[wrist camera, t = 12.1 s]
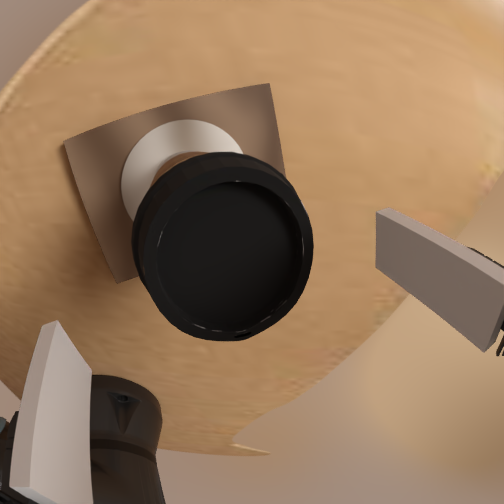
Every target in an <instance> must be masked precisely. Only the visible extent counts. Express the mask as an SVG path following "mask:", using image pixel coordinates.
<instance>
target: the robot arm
mask: <svg viewBox="0 0 504 504" xmlns="http://www.w3.org/2000/svg"><path fill="white" fill-rule="evenodd" d="M376 268H377V269H378V270H380V271H381V272H382V273H384V274H385V275H387V276H388V277H389V278H391V279H392V280H393V281H395V282H396V283H397V284H399V285H400V286H401V287H403V288H404V289H405V290H406V291H408V292H409V293H410V294H412V295H413V296H414V297H416V298H417V299H418V300H420V301H421V302H422V303H423V304H425V305H426V306H427V307H429V308H430V309H431V310H432V311H434V312H435V313H436V314H437V315H439V316H440V317H441V318H442V319H444V320H445V321H446V322H448V323H449V324H450V325H451V326H452V327H454V328H455V329H456V330H457V331H459V332H460V333H461V334H462V335H463V336H465V337H466V338H467V339H468V340H469V341H471V342H472V343H473V344H474V345H475V346H477V347H478V348H479V349H480V350H481V351H482V352H485V351H486V350H487V349H489V348H490V347H491V346H492V345H493V344H494V343H495V341H496V339H497V336H498V334H499V332H500V329H501V330H503V331H504V266H502V265H501V264H499V263H497V262H496V261H492V259H490V258H489V257H487V256H484V254H482V253H480V252H478V251H477V250H475V249H473V248H469V247H466V246H464V245H462V244H460V243H458V242H457V241H455V240H453V239H451V238H449V237H447V236H445V235H444V234H442V233H440V232H438V231H436V230H434V229H432V228H430V227H428V226H426V225H424V224H422V223H420V222H418V221H416V220H414V219H412V218H410V217H408V216H406V215H404V214H402V213H400V212H398V211H396V210H394V209H391V208H389V207H388V208H385V209H382V210H380V211H377V212H376ZM503 347H504V336H503V338H502V340H501V343H500V345H499V347H498V349H497V351H496V356H499V355H500V352H501V350H502V348H503ZM502 356H504V351H503V354H502ZM161 428H162V414H161V408H160V404H159V402H158V400H157V399H156V397H155V396H154V395H153V394H152V393H151V392H150V391H148V390H147V389H145V388H144V387H142V386H140V385H138V384H136V383H134V382H132V381H129V380H126V379H122V378H118V377H113V376H103V375H93V376H92V370H91V369H90V367H89V366H88V364H87V363H86V362H85V360H84V359H83V358H82V356H81V355H80V353H79V352H78V350H77V349H76V347H75V346H74V345H73V343H72V342H71V340H70V339H69V337H68V335H67V334H66V332H65V331H64V329H63V328H62V326H61V325H60V323H59V321H58V320H56V321H53V322H50V323H47V324H44V325H42V328H41V331H40V334H39V337H38V340H37V343H36V346H35V350H34V353H33V356H32V360H31V363H30V367H29V371H28V375H27V379H26V383H25V387H24V391H23V395H22V400H21V404H20V409H19V411H16V412H15V414H14V416H13V418H12V420H11V422H10V423H9V422H7V421H6V419H4V418H3V417H0V504H166V503H165V499H164V495H163V491H162V487H161V482H160V477H159V473H158V469H157V463H156V456H155V454H156V450H157V446H158V441H159V437H160V432H161Z"/></svg>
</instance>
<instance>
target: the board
mask: <svg viewBox="0 0 504 504" xmlns="http://www.w3.org/2000/svg"><path fill="white" fill-rule="evenodd" d="M63 142H64V145H65V149H66V152H67V155H68V159H69V162H70V165H71V168H72V171H73V174H74V178H75V181H76V184H77V186H78V189H79V192H80V195H81V198H82V201H83V203H84V206H85V209H86V212H87V214H88V217H89V219H90V222H91V225H92V227H93V230H94V232H95V235H96V237H97V240H98V242H99V244H100V247H101V249H102V251H103V254H104V256H105V258H106V261H107V263H108V265H109V267H110V270H111V272H112V274H113V276H114V278H115V281H116V283H120V282H123V281H126V280H129V279H132V278H135V277H138V276H139V274H138V272H137V269H136V266H135V263H134V260H133V254H132V246H131V237H132V226H133V222H134V219H135V215H136V212H137V209H138V207H139V205H140V203H141V201H142V199H143V198H144V196H145V194H146V192H147V191H148V190H149V188H150V185H151V183H152V181H153V178H154V176H155V173H156V171H157V169H158V168H159V166H160V165H161V163H162V162H163V161H164V160H165V159H167V158H168V157H169V156H171V155H173V154H175V153H177V152H181V151H190V150H192V151H199V152H210V153H211V152H236V153H241V154H246V155H250V156H252V157H255V158H257V159H259V160H262V161H264V162H266V163H268V164H270V165H271V166H272V167H274V168H275V169H276V170H278V171H279V172H280V173H282V174H283V175H284V176H285V178H286V175H285V169H284V162H283V156H282V150H281V144H280V138H279V133H278V127H277V121H276V115H275V110H274V104H273V99H272V94H271V88H270V83H267V84H261V85H255V86H248V87H243V88H237V89H232V90H227V91H222V92H217V93H212V94H208V95H203V96H199V97H195V98H191V99H186V100H182V101H179V102H175V103H171V104H167V105H164V106H160V107H157V108H153V109H150V110H147V111H143V112H140V113H137V114H134V115H131V116H128V117H125V118H122V119H119V120H116V121H113V122H110V123H108V124H105V125H102V126H99V127H97V128H94V129H92V130H89V131H86V132H84V133H81V134H79V135H77V136H74V137H72V138H69V139H67V140H65V141H63Z"/></svg>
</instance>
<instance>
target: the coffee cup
mask: <svg viewBox="0 0 504 504" xmlns="http://www.w3.org/2000/svg"><path fill="white" fill-rule="evenodd" d="M131 246H132V254H133V260H134V263H135V266H136V269H137V272H138V274H139V277H140V280H141V281H142V283H143V284H144V286H145V287H146V289H147V290H148V292H149V294H150V295H151V297H152V299H153V301H154V302H155V304H156V306H157V307H158V309H159V311H160V312H161V313H162V314H163V315H164V316H165V318H166V319H167V320H168V321H169V322H170V323H171V324H172V325H174V326H175V327H177V328H178V329H179V330H181V331H182V332H184V333H186V334H189V335H191V336H193V337H196V338H201V339H205V340H212V341H241V340H245V339H248V338H250V337H252V336H254V335H256V334H258V333H260V332H262V331H264V330H266V329H267V328H269V327H271V326H272V325H274V324H275V323H277V322H278V321H279V320H280V319H282V318H283V317H284V316H285V315H286V314H287V313H288V312H289V311H290V310H291V309H292V308H293V307H294V305H295V304H296V303H297V301H298V299H299V298H300V296H301V294H302V293H303V291H304V288H305V286H306V283H307V281H308V278H309V274H310V270H311V266H312V261H313V248H314V244H313V233H312V227H311V224H310V220H309V217H308V214H307V212H306V210H305V208H304V206H303V204H302V202H301V200H300V199H299V197H298V195H297V193H296V191H295V189H294V187H293V186H292V185H291V184H290V182H289V181H288V180H287V179H286V178H285V176H284V175H283V174H282V173H280V172H279V171H278V170H276V169H275V168H274V167H272V166H271V165H270V164H268V163H266V162H264V161H262V160H259V159H257V158H255V157H252V156H250V155H246V154H241V153H236V152H211V153H210V152H199V151H192V150H190V151H181V152H177V153H175V154H173V155H171V156H169V157H168V158H167V159H165V160H164V161H163V162H162V163H161V165H160V166H159V168H158V169H157V171H156V173H155V176H154V178H153V181H152V183H151V185H150V188H149V190H148V191H147V192H146V194H145V196H144V198H143V199H142V201H141V203H140V205H139V207H138V209H137V212H136V215H135V219H134V222H133V226H132V237H131Z"/></svg>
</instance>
